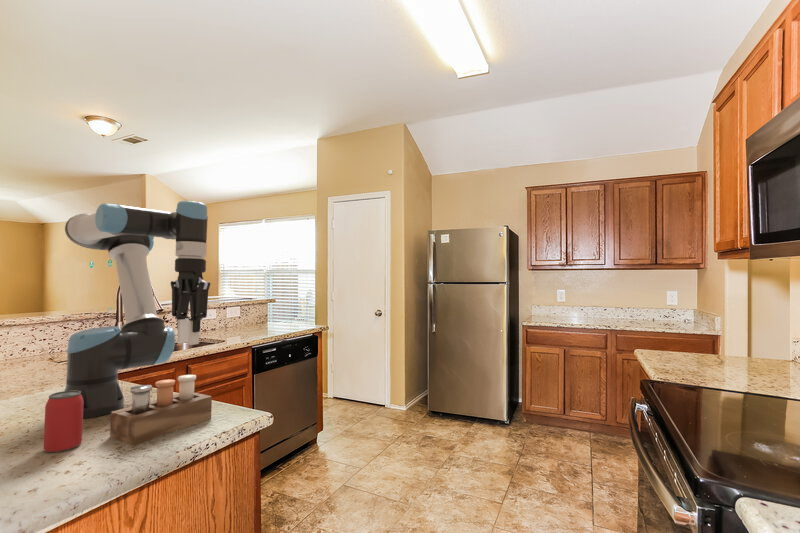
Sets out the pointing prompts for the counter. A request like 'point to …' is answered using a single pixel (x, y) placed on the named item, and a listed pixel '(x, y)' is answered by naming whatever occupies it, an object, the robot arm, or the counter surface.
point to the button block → (159, 419)
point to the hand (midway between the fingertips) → (188, 343)
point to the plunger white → (186, 387)
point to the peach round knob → (164, 392)
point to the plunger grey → (140, 399)
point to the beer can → (63, 421)
